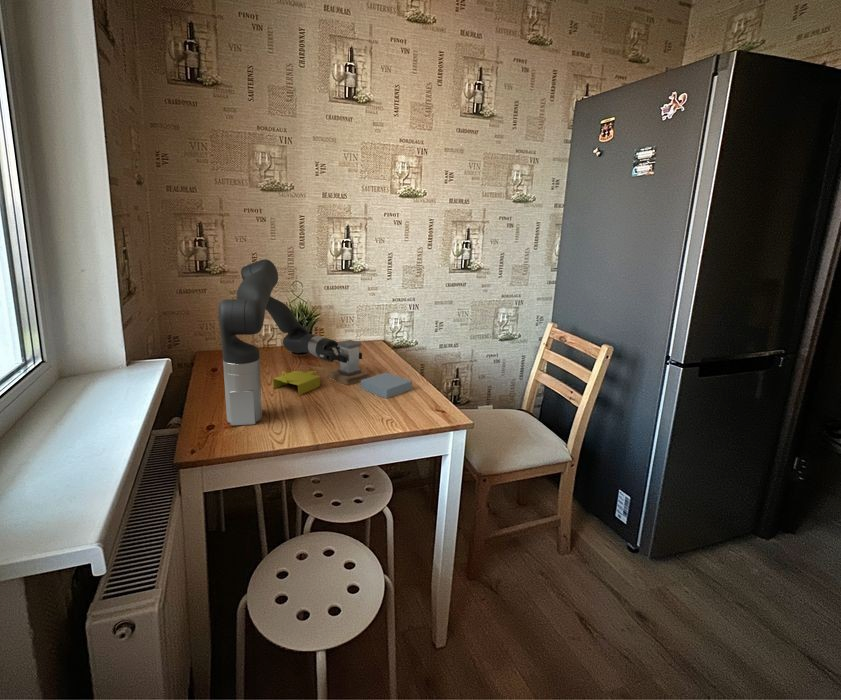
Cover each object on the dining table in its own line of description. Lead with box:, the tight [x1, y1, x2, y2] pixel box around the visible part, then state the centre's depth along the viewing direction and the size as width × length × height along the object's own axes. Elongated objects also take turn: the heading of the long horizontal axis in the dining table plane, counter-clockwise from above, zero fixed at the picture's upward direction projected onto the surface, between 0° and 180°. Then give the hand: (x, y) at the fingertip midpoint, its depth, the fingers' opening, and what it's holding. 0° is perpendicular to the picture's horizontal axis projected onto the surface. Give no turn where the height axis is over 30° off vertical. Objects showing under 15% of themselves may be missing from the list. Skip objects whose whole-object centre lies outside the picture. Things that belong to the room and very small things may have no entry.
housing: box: [337, 339, 362, 377], centre depth 169 cm, size 6×6×11 cm
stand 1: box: [328, 369, 371, 386], centre depth 171 cm, size 10×10×2 cm
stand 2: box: [360, 372, 413, 400], centre depth 162 cm, size 12×12×3 cm
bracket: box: [272, 369, 321, 396], centre depth 161 cm, size 16×8×15 cm
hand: (354, 358), depth 168 cm, fingers open, 6 cm apart
